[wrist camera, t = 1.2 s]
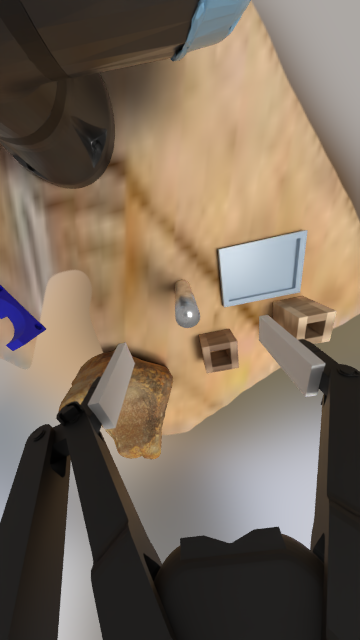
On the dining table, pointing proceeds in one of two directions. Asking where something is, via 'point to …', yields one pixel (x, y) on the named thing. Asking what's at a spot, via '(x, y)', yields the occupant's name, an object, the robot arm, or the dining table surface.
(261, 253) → the tray
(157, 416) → the rough brown rock
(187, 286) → the silver metal rod
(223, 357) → the brown hollow block
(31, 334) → the cable clip
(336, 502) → the robot arm
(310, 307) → the block
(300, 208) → the dining table surface
